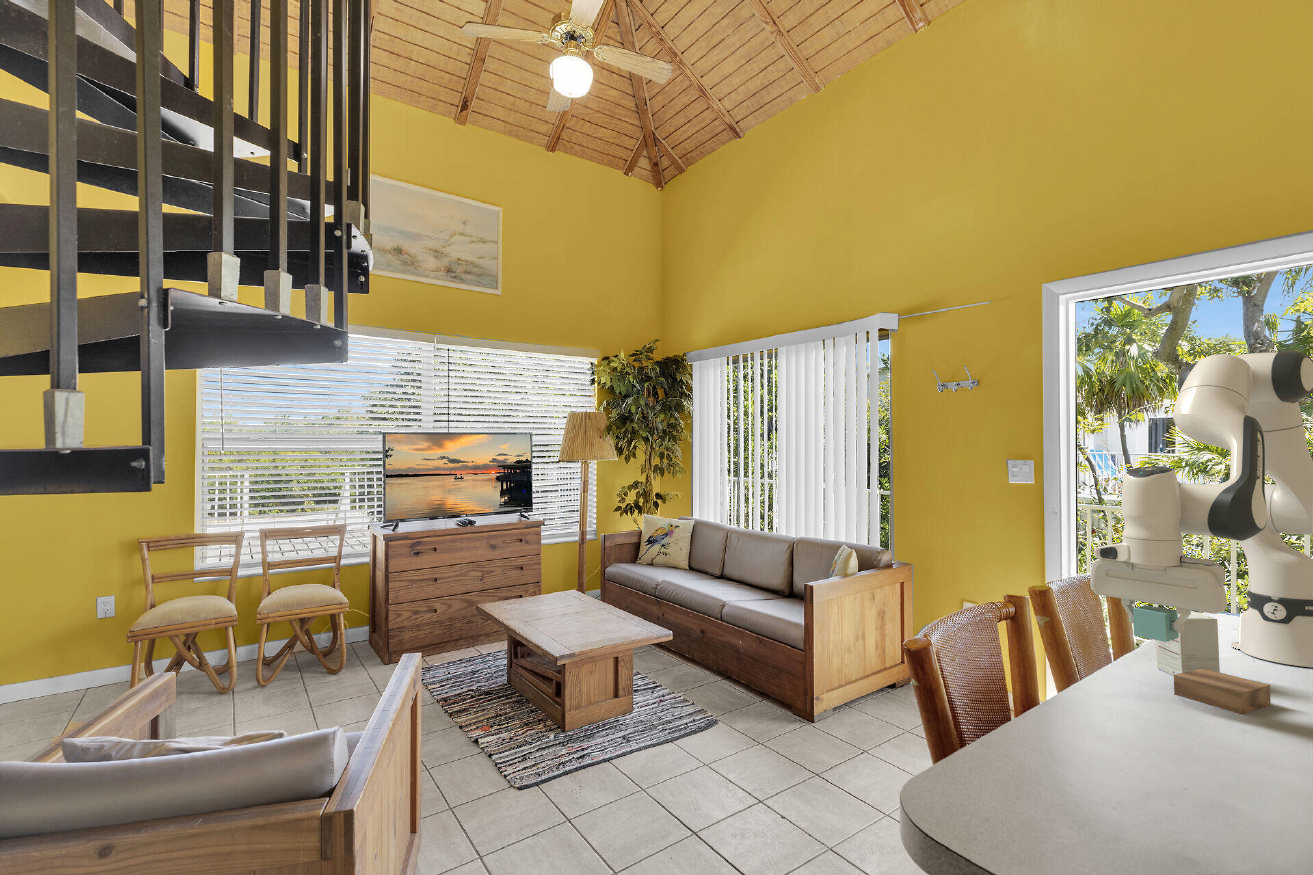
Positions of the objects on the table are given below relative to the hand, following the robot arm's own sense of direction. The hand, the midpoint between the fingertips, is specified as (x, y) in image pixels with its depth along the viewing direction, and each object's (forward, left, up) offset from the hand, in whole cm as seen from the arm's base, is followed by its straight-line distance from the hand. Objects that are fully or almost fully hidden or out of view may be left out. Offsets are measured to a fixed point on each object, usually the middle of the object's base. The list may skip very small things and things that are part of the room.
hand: (1155, 627), depth 114 cm
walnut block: (-10, +6, -14) cm, 18 cm away
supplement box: (-21, -3, -13) cm, 25 cm away
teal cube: (0, 0, -2) cm, 2 cm away
